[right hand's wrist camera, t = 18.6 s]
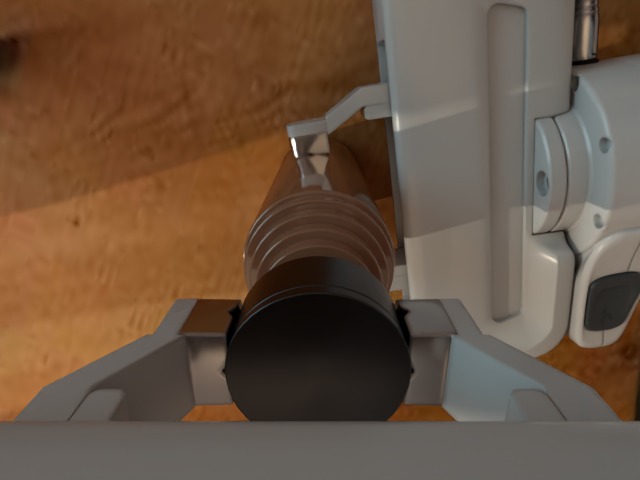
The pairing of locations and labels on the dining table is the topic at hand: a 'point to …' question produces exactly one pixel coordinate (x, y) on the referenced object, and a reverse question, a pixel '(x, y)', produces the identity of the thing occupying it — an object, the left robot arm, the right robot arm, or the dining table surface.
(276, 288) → the cap
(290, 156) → the bottle
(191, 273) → the dining table surface
